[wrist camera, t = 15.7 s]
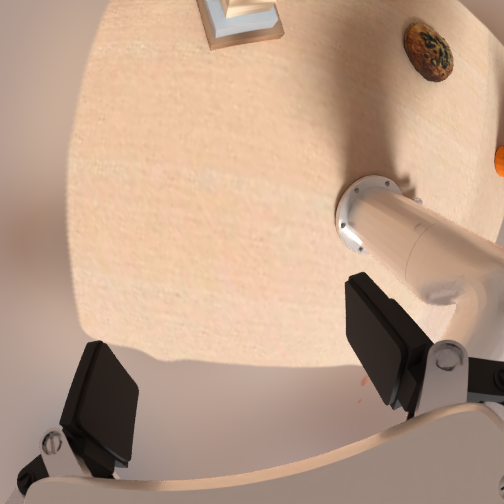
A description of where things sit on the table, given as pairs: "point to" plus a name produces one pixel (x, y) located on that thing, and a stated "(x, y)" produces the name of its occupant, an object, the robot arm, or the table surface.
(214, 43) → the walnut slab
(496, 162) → the spray bottle
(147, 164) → the table surface
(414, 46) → the bread roll
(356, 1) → the table surface
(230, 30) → the grey slab
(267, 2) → the beech block
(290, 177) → the table surface
